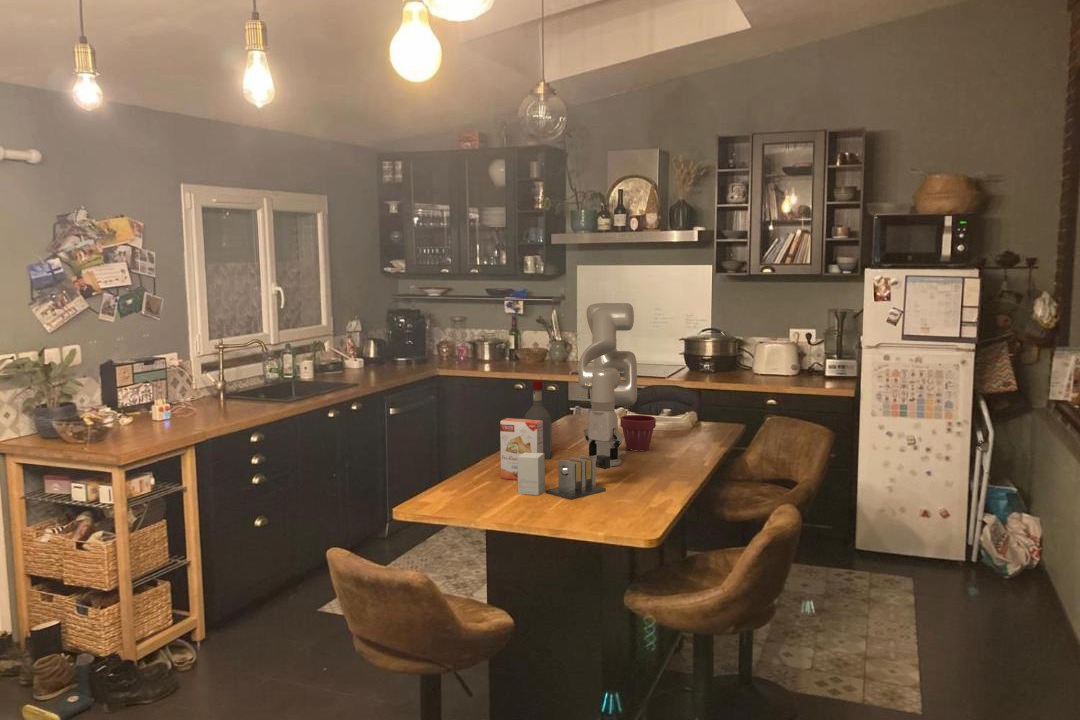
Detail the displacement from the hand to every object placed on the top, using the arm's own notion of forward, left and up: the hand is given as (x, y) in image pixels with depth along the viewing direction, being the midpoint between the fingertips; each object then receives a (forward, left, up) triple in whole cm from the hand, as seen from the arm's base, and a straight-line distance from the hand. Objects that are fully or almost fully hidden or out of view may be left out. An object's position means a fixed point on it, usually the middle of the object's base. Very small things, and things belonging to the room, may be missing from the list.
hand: (603, 457), depth 300 cm
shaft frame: (+13, 0, -10) cm, 16 cm away
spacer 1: (+14, 0, -5) cm, 15 cm away
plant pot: (-54, -31, -10) cm, 63 cm away
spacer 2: (+10, 0, -5) cm, 11 cm away
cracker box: (+13, -26, -10) cm, 31 cm away
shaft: (+9, 0, -4) cm, 9 cm away
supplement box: (+23, -10, -10) cm, 27 cm away
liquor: (-14, -47, -10) cm, 50 cm away
